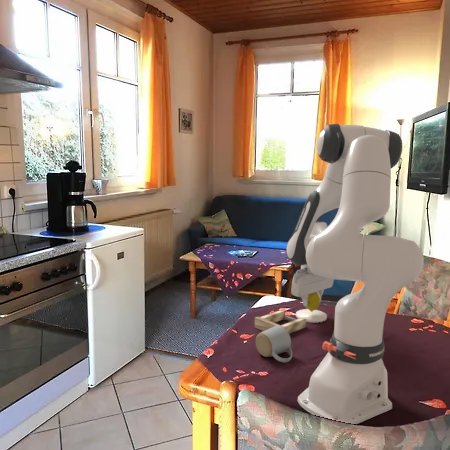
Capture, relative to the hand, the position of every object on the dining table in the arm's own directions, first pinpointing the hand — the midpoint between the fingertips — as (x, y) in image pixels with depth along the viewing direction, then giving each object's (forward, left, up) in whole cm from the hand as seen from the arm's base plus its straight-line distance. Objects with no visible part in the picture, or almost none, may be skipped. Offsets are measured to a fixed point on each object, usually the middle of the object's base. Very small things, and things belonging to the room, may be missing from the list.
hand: (312, 303), depth 152 cm
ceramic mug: (-32, -12, -5) cm, 35 cm away
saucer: (0, 0, -5) cm, 5 cm away
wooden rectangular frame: (-15, +1, -5) cm, 16 cm away
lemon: (0, 0, -3) cm, 3 cm away
